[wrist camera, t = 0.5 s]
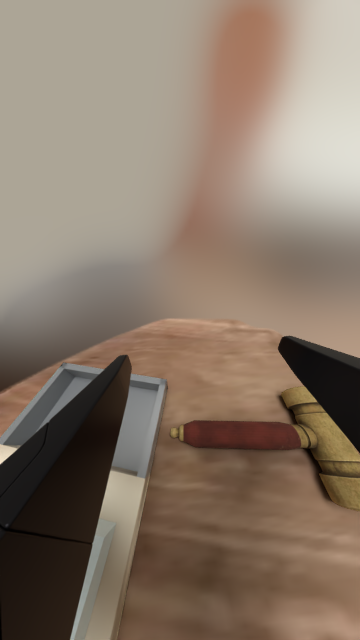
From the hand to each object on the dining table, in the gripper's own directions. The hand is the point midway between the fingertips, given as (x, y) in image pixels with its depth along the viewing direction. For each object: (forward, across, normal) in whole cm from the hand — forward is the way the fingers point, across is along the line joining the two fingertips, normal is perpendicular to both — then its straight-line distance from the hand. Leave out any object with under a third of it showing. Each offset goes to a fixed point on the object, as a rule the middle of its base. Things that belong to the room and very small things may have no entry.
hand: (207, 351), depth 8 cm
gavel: (+2, -7, +17) cm, 19 cm away
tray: (+6, +12, +14) cm, 20 cm away
